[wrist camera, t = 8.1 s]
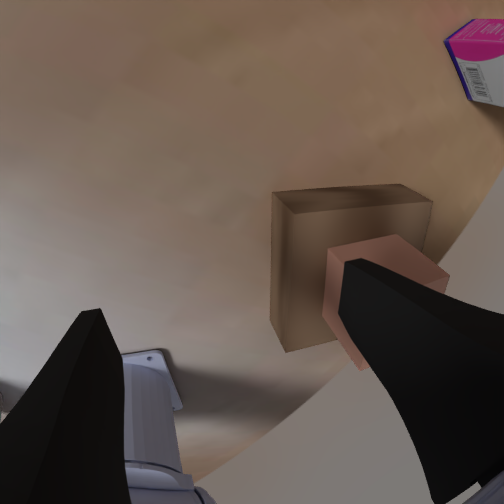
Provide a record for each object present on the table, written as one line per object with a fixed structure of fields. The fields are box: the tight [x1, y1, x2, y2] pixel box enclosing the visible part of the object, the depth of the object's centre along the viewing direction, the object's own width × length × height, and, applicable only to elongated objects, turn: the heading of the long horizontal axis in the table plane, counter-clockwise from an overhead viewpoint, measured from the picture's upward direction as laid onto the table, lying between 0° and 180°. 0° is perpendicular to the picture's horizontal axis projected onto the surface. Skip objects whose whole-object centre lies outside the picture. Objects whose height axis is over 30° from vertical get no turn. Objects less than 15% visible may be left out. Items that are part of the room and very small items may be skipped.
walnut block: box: [270, 184, 433, 353], centre depth 21 cm, size 10×10×4 cm
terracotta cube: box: [322, 234, 450, 371], centre depth 17 cm, size 5×5×5 cm
